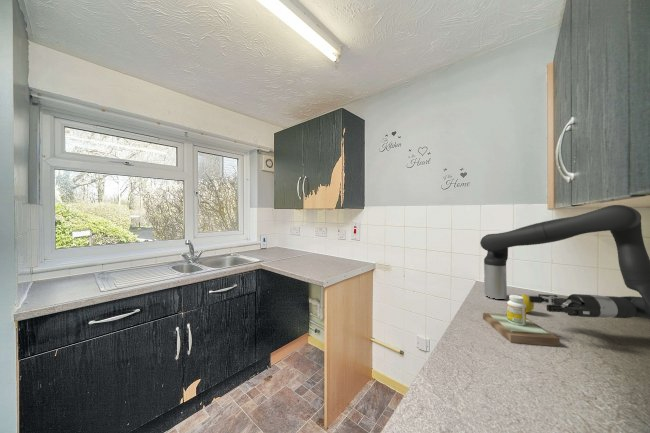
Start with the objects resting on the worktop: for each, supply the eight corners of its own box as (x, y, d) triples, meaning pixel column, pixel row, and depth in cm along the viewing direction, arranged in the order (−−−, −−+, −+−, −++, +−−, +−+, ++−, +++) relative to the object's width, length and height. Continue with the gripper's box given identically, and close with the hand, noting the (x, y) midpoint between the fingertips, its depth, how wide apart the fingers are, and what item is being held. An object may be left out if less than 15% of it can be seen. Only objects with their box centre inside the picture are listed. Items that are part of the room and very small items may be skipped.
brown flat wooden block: (482, 318, 93) (482, 311, 93) (521, 321, 91) (521, 313, 91) (510, 342, 75) (510, 333, 75) (559, 346, 73) (559, 336, 73)
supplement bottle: (516, 326, 80) (516, 299, 80) (503, 319, 85) (503, 294, 85) (530, 325, 81) (530, 298, 81) (516, 318, 86) (515, 293, 86)
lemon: (534, 316, 94) (534, 297, 94) (517, 313, 98) (517, 295, 98) (533, 312, 99) (532, 294, 99) (516, 309, 102) (516, 291, 102)
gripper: (572, 288, 86) (524, 287, 89) (613, 302, 72) (553, 300, 75) (573, 308, 86) (524, 306, 89) (613, 326, 72) (554, 322, 75)
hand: (538, 303), depth 82 cm, fingers open, 8 cm apart
